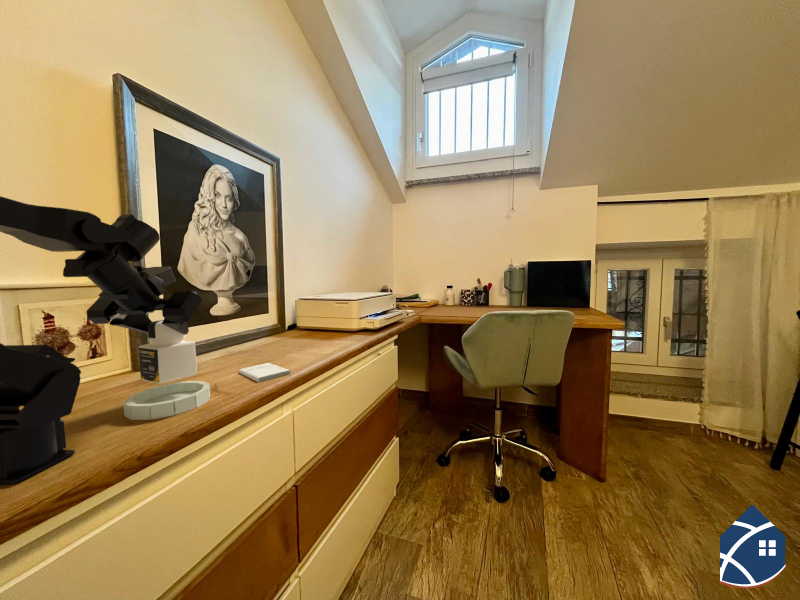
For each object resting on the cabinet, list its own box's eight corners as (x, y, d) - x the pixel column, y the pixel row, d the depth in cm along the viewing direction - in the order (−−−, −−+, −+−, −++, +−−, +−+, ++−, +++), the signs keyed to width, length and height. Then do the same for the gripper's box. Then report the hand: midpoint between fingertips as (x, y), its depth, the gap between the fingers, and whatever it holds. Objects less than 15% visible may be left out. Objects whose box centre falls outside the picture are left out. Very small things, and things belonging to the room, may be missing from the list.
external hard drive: (258, 384, 71) (239, 374, 79) (291, 376, 77) (269, 367, 85) (258, 377, 71) (238, 368, 79) (290, 369, 77) (269, 362, 85)
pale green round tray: (176, 419, 52) (175, 405, 52) (105, 420, 52) (103, 406, 52) (223, 391, 65) (222, 380, 65) (165, 392, 65) (164, 381, 65)
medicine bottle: (140, 380, 61) (136, 321, 60) (179, 371, 67) (176, 318, 67) (158, 384, 57) (154, 322, 57) (197, 374, 64) (194, 318, 63)
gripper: (193, 249, 57) (230, 303, 68) (98, 252, 58) (151, 305, 69) (161, 290, 49) (209, 344, 61) (52, 293, 50) (120, 346, 61)
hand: (172, 333), depth 63 cm, fingers closed on medicine bottle, 6 cm apart
